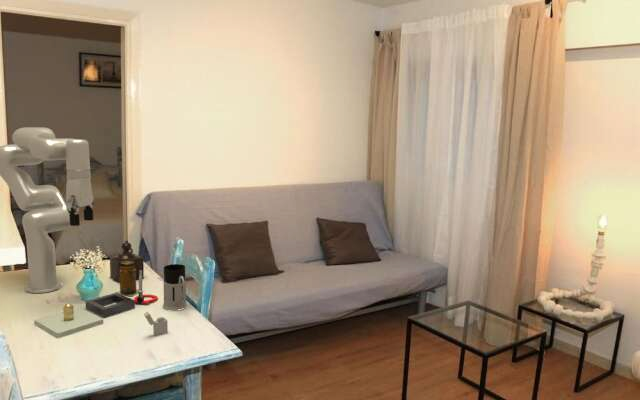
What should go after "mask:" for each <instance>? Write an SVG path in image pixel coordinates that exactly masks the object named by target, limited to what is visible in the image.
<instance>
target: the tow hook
mask: <svg viewBox="0 0 640 400" xmlns="http://www.w3.org/2000/svg"><path fill="white" fill-rule="evenodd" d="M138 290H139V291H138V294H137V295H138V296H137V295H136V296H135V297H134V298H133V300H135V305H142V306H143V305H144V306H149V305H150V304H151V303H155V302H157V301H158V300H159V297H158V296H157V295H154V294H143V293H144V290H143V279H142V270H140V276H139V280H138ZM145 298H150V299H145Z"/></svg>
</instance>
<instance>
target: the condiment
mask: <svg viewBox="0 0 640 400" xmlns="http://www.w3.org/2000/svg"><path fill="white" fill-rule="evenodd" d="M120 266H121V267H120V268H121V269H120V271H119V275H120V283H119V291H116V292H114V293H119V294H121V295H123V296H126V297H134V296H137V295H138V291H139V288H138V289H137V281H136V269H135V263H134V262H133V261H124V262H122V263H121V264H120Z"/></svg>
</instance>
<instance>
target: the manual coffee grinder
mask: <svg viewBox="0 0 640 400" xmlns="http://www.w3.org/2000/svg"><path fill="white" fill-rule="evenodd" d="M121 249H122V252H121V253H117V255H113V256H109V273H110V275H109V278H110V279H111V280H113V281H114V282H116V283H118V284H120V275H119V271H120V269H121V268H120V267H121V266H120V264H121V263H122V262H124V261H133V262H134V263H135V269H136V282H137V281H139V276H140V270H142V280H143V279H144V274H145V273H144V270H145V269H144V263H145V262H144V257H142V256H140V255H138V254H135V253H134V249H133V248H132V244H131V242H129V241H128V240H125V241H124V243H122V244H121Z"/></svg>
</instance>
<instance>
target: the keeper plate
mask: <svg viewBox="0 0 640 400" xmlns="http://www.w3.org/2000/svg"><path fill="white" fill-rule="evenodd" d="M73 311H74V320H72V321H64V314H63V311H60V312H56V313H52V314H49V315H46V316H43V317H38V318H35V319H33V323H34V325H35V326H37V327H39V328H40V329H42V330H43V331H45V332H47V333H49V334H50V335H52V336H53V337H55V338H57V339H60V338H63V337H65V336H69V335H72V334H74V333H78V332H81V331H84V330H87V329H91V328H94V327H96V326H99V325H103V324H104V318H103V317H101V316H99V315H97V314H95V313H93V312H91V311H89V310H87V309H83V308H82V307H79V306H77V307H75V308H74V307H73Z"/></svg>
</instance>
